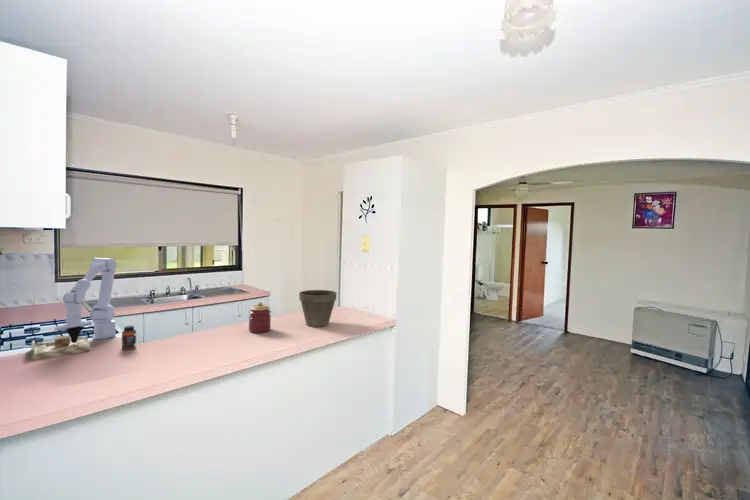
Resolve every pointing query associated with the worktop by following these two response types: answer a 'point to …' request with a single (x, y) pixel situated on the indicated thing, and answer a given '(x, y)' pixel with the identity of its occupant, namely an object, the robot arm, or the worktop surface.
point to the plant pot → (317, 306)
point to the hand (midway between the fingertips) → (74, 342)
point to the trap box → (58, 348)
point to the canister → (259, 318)
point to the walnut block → (62, 341)
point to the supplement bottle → (128, 338)
